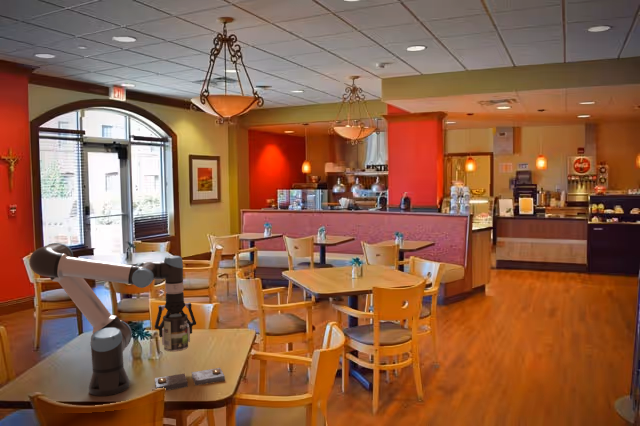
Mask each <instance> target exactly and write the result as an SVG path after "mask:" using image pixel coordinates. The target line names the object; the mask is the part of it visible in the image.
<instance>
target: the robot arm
mask: <svg viewBox="0 0 640 426" xmlns="http://www.w3.org/2000/svg"><path fill="white" fill-rule="evenodd" d="M183 265H184V264H183V258H182V256H180V255H169V256H165V257H164V260H163V261H141V262H139V261H138V262H136V263H135V265H132V264H125V263H124V264H123V263H118V262H109V261H101V260H97V259H96V260H95V259H94V260H93V259H87V258H81V257H80V258H79V257H74V253H73V250H72V249H71V247H69V246H68V245H66V244H65V243H61V242H54V243H48V244H47V245H45V246H42V247H39V248H36V250H34V251H33V252H32V253H31V255H30V257H29V266H30V269H31V271H32V272H34V274H36V275H38V276H42V277H48V278H49V279H50V280H51V281H52V282H56V283H58V284H59V285H60V286H61V288H62V289H63V290H64V291H65V292H66V293H65V294H67V295H68V297H69V298H70V299H71V301H72V302H73V303H74V304H75V306H76V307H77V308H78V310H79V311H80V312H81V313H82V315H83V316H84V317H85V319H86V320H87V322H88V323H89V324H90V325H91V326H92V335H91V337H90V342H89V343H90V345H89V346H90V349H91V350H90V351H91V364H92V366H91V367H92V374H91V377H90V381H89V384H88V393H89V394H90V395H92V396H95V397H98V396H99V397H104V396H105V397H106V396H114V395H115V394H120V393H122V392H124V391H125V390H127V389H128V388H130V380H129V376H128V375H127V372H126V369H125V367H124V351H125V350H126V348H127V347H128V346H129V345H130V342H131V340H132V336H133V333H132V332H133V331H132V328H131V326H130V325H129V324H128V323H126V322H125V321H122V320H120V318H119V317H118V316H117V315H116V314H112V313H111V312H110V311H109V310H108V309H107V307H106V305H104V303H103V302H102V301H101V299H100V298H99V296H98V295H97V294H96V293H95V292H94V290H93V289H92V287H91V286H90V285H89V284H88V282H87V281H86V280H87V279H88V280H94V281H101V282H102V281H103V282H104V281H105V282H111V283H118V284H119V283H120V284H127V285H133V286H135V287H137V288H140V289H141V288H142V289H143V288H146V287H148V286H150V285H151V284H152V283H153V281H154V280H164V284H165V285H164V286H165V289H164V291H165V303H164V304H163V305H160V304H159V305H158V306H157V307H158V312H157V315H156V319H155V322H154V330H158V336H159V338H161V344H162V346H164V320H163V319H162V320H161V318H162V315H163V314H162V313H163V311H165V309H166V310H167V311H166V313H165V315H164V316H165V318H169V316H170V314H175V313H177V314H179V313H181V314H182V316H186V315H185V314H186V313H185V312H184V308H185V307H186V309H187V310H188V313H189V315H190V319H191V321H190V319H189V317H187V324H188V343H191V338H190V337H191V334H193V326H196V325H197V321H196V317H195V315H194V313H193V312H194V311H193V310H192V303H191V302H189V301H188V302H185V300H184V299H185V296H184V266H183ZM160 320H161V323H160Z"/></svg>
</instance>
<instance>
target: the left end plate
mask: <svg viewBox="0 0 640 426" xmlns="http://www.w3.org/2000/svg"><path fill="white" fill-rule="evenodd" d="M154 385H155V389H156V388H163V387H164V388H166V391H173V390H177V389H184V388H188V387H189V384H188V379H187V377H186V374H185V373H179V374H173V375H166V376H161V377H155V378H154Z"/></svg>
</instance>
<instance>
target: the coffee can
mask: <svg viewBox="0 0 640 426" xmlns="http://www.w3.org/2000/svg"><path fill="white" fill-rule="evenodd" d="M185 315H186V316H182V314H181V313H179V314H177V313H175V314H170V316H169V318H165V315H163V317H162V320H164V327H163V328H164V345H163V350H164V351H166V352H173V353H174V352H181V351H185V350H187V349H188V348H189V342H188V326H189V325H188V323H187V318H189V317H188V314H187V313H185Z"/></svg>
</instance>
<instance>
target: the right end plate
mask: <svg viewBox="0 0 640 426" xmlns="http://www.w3.org/2000/svg"><path fill="white" fill-rule="evenodd" d="M225 376H226V375H224V372H223V371H222V368H221V367H217V368H216V367H215V368H211V369H210V368H209V369H205V370H204V369H203V370H198V371H191V378H192V380H193V382H194V386H200V385H201V386H202V385H207V383H208V384H213V382H214V383H218V382H225V380H226V378H225Z"/></svg>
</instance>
